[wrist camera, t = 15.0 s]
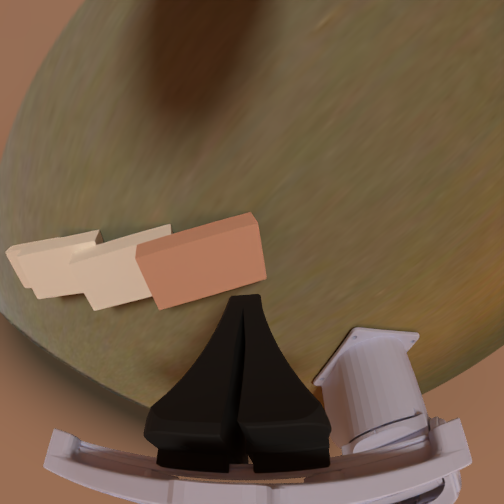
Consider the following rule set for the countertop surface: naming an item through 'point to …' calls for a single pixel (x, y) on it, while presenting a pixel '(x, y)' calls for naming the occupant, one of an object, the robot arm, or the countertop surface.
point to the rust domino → (202, 260)
